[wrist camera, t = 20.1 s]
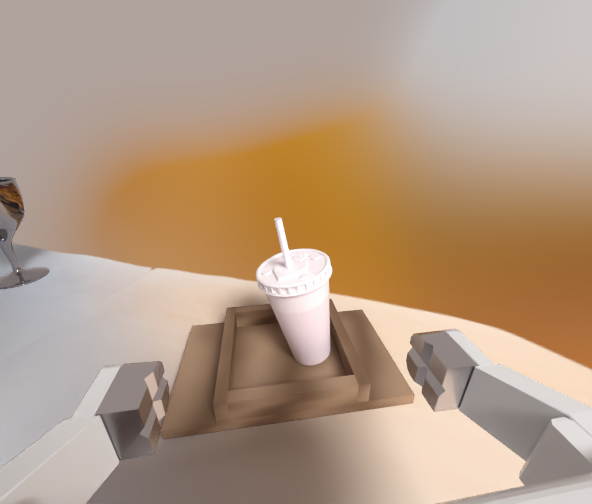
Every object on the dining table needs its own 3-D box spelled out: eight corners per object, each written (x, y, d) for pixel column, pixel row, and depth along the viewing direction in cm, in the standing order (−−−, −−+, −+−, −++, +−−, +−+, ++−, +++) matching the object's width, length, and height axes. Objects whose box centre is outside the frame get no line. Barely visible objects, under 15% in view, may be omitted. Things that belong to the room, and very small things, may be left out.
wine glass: (64, 265, 48) (30, 176, 42) (26, 289, 40) (-23, 186, 34) (16, 266, 47) (-26, 177, 41) (-32, 291, 40) (-91, 187, 34)
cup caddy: (163, 439, 21) (154, 412, 19) (193, 332, 31) (189, 311, 30) (412, 403, 23) (418, 377, 22) (361, 316, 34) (363, 295, 33)
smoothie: (267, 368, 26) (223, 232, 20) (297, 323, 31) (268, 204, 25) (331, 386, 23) (300, 233, 17) (352, 333, 28) (334, 200, 22)
